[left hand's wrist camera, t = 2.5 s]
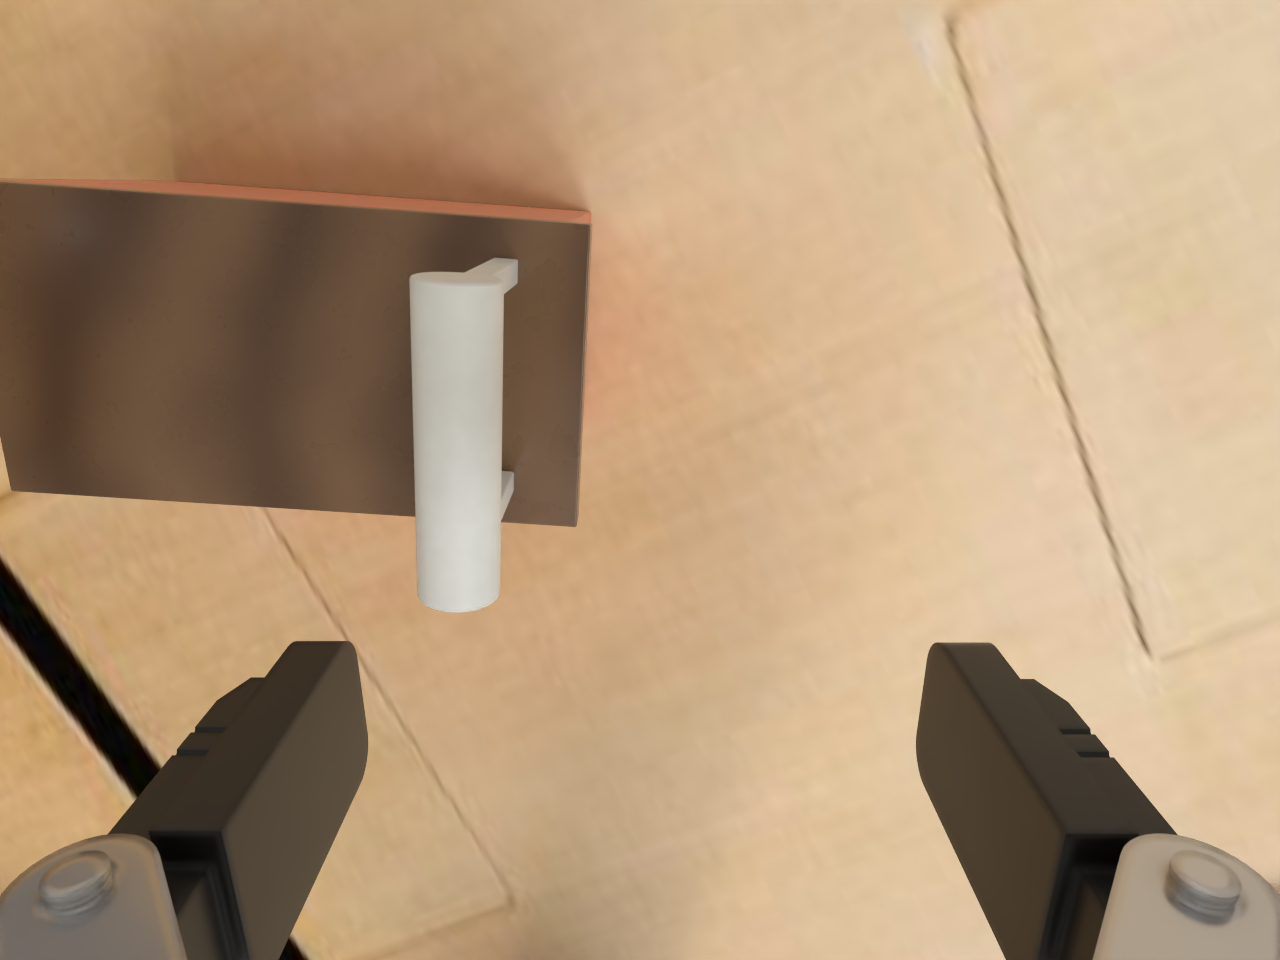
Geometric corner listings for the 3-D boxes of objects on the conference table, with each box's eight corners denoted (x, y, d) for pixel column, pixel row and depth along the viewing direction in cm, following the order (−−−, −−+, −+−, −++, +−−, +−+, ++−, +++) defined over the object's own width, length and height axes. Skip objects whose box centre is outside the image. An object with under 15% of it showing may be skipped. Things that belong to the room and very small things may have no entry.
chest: (591, 211, 34) (571, 221, 24) (581, 426, 37) (559, 514, 27) (172, 180, 33) (-27, 178, 23) (198, 400, 36) (32, 480, 26)
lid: (592, 223, 24) (568, 242, 16) (578, 516, 27) (552, 655, 19) (-28, 178, 23) (-375, 173, 15) (31, 481, 26) (-232, 608, 18)
